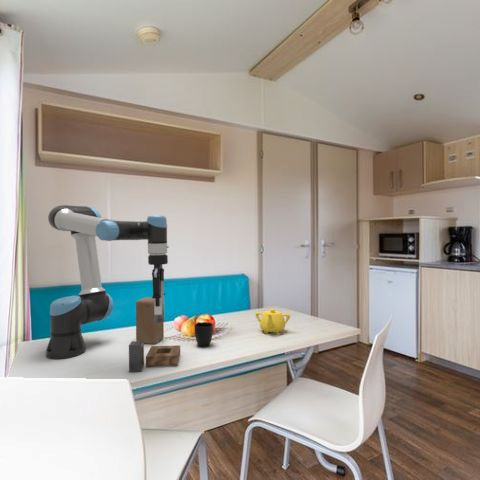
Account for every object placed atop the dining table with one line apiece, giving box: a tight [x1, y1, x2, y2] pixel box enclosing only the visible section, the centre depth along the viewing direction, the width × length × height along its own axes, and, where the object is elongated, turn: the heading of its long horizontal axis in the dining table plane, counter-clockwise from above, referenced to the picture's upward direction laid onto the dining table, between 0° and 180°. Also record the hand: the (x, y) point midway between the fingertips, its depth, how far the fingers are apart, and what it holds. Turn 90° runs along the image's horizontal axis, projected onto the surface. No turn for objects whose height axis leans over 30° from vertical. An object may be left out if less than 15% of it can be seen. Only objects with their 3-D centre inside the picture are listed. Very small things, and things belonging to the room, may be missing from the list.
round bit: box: [154, 280, 165, 323], centre depth 134 cm, size 4×4×16 cm
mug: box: [194, 321, 214, 348], centre depth 155 cm, size 8×12×10 cm
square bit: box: [128, 340, 145, 373], centre depth 126 cm, size 4×4×10 cm
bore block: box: [145, 344, 181, 368], centre depth 135 cm, size 12×12×4 cm
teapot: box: [255, 308, 291, 336], centre depth 174 cm, size 14×14×12 cm
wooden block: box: [135, 296, 165, 345], centre depth 160 cm, size 10×10×20 cm
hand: (159, 312), depth 134 cm, fingers closed on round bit, 4 cm apart
